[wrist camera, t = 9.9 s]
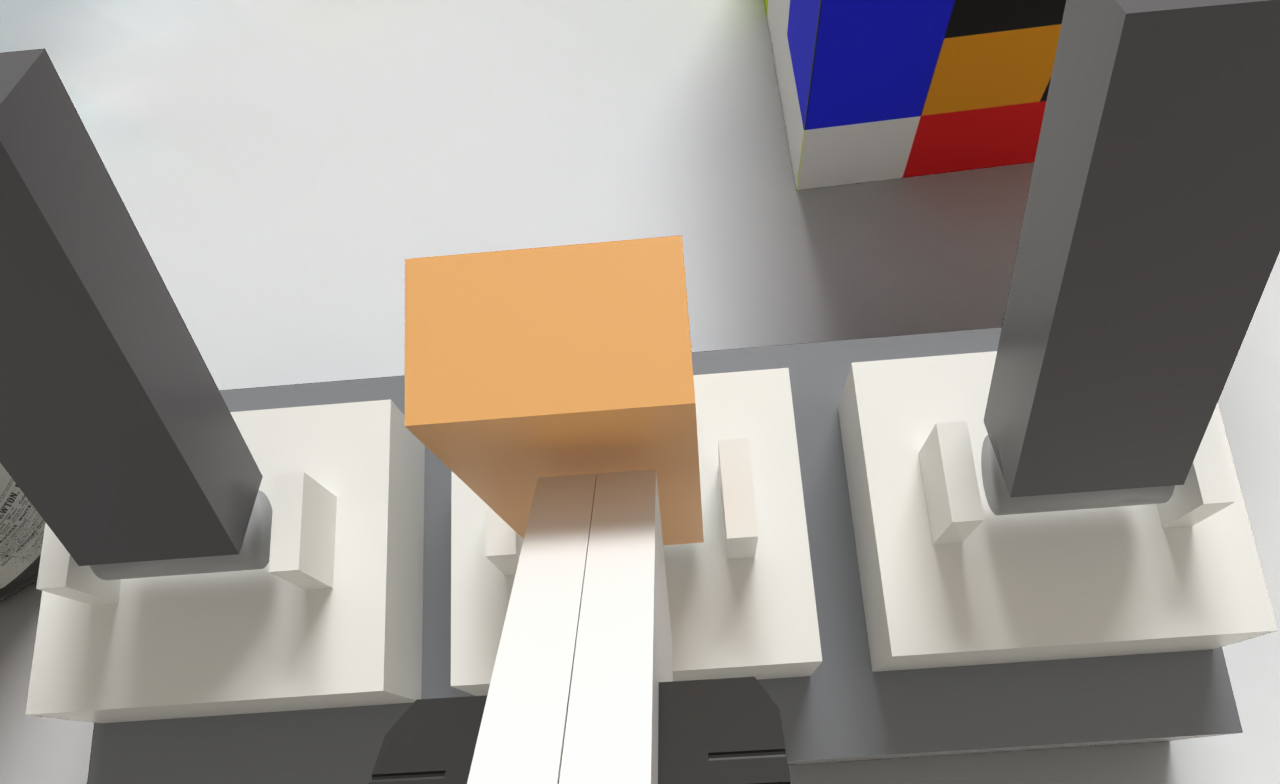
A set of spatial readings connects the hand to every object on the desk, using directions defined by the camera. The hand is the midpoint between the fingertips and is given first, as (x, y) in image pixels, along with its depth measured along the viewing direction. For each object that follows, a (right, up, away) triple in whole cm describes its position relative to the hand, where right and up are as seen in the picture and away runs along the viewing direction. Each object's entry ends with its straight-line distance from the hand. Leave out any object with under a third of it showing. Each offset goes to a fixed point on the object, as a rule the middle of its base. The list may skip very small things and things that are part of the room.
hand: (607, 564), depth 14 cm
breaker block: (+1, -3, +15) cm, 16 cm away
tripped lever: (0, 0, +7) cm, 7 cm away
